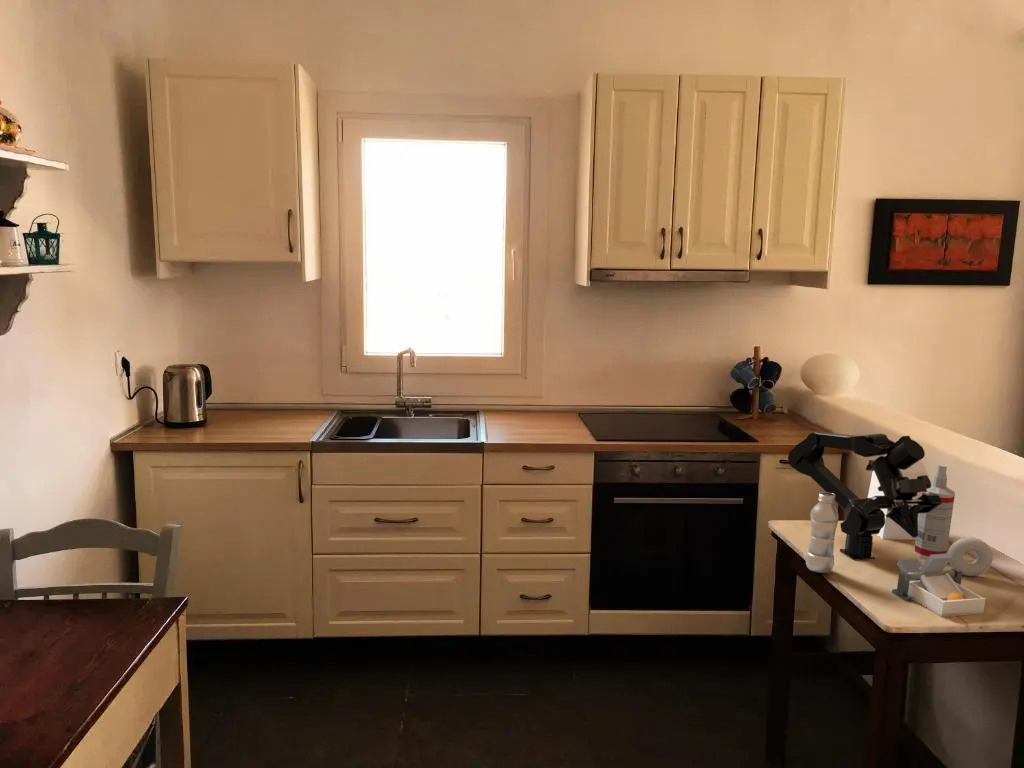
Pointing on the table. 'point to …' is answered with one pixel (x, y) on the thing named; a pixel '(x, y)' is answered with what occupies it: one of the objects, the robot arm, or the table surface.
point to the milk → (890, 527)
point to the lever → (932, 574)
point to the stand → (905, 579)
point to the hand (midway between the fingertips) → (915, 536)
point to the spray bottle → (935, 519)
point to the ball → (954, 596)
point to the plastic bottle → (822, 534)
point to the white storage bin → (947, 601)
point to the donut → (970, 544)
